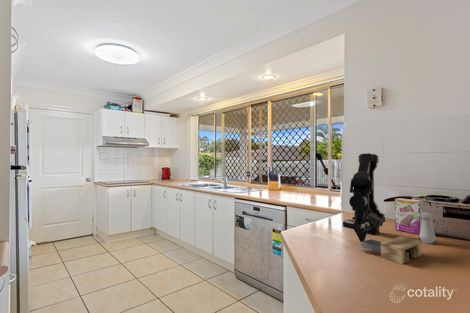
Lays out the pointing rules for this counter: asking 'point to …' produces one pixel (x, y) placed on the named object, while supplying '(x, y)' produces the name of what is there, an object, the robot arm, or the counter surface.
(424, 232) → the salt shaker
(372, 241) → the slate tile
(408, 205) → the candy bar box
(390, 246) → the oak block
